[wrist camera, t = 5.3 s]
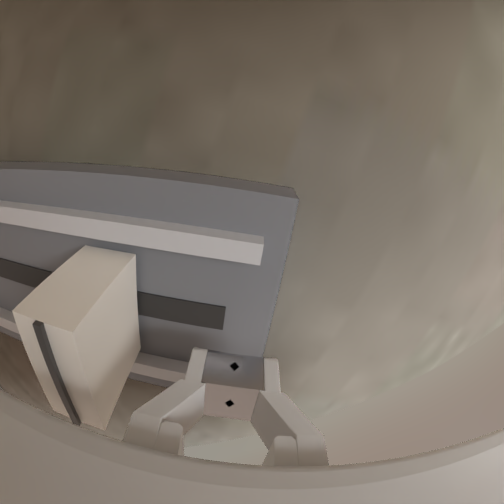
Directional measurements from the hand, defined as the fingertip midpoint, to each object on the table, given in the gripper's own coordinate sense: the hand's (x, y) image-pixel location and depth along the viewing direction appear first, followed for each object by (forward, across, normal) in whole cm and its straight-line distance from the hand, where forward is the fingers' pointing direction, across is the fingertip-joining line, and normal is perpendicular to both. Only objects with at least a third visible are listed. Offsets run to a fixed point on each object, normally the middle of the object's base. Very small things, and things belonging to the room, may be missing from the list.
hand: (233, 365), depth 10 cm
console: (+5, +13, 0) cm, 13 cm away
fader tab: (+2, +6, 0) cm, 6 cm away
